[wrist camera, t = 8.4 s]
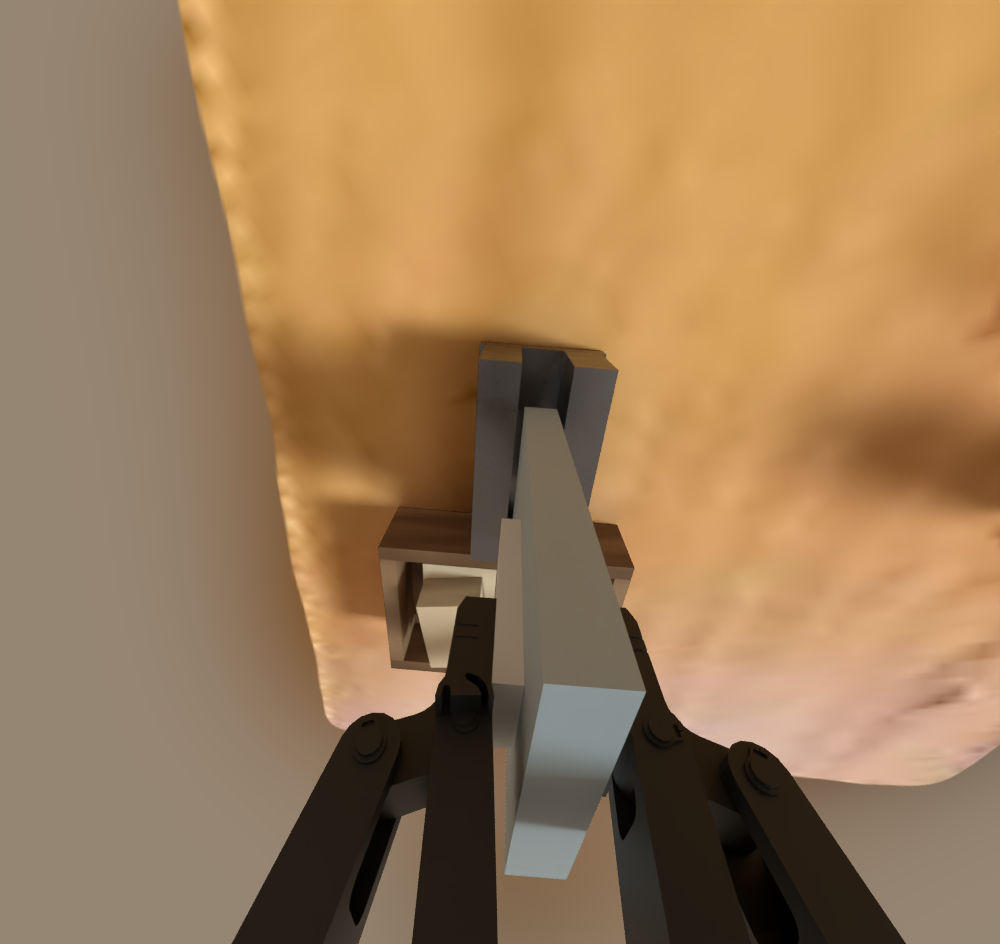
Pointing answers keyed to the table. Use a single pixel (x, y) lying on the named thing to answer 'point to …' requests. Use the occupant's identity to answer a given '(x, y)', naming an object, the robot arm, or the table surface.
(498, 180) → the table surface
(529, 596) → the blue-grey rectangular panel
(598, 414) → the stand
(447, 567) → the offcut low
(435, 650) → the offcut top
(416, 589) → the rack
